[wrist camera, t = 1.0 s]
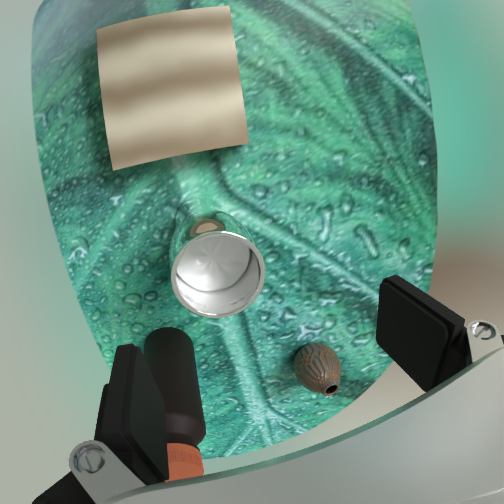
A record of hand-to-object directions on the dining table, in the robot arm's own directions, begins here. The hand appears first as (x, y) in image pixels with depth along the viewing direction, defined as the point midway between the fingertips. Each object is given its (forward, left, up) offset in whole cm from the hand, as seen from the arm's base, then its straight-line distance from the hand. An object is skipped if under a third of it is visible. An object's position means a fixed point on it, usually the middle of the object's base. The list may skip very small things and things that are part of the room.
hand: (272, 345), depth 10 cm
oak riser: (-14, -2, -25) cm, 29 cm away
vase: (+26, +11, -26) cm, 38 cm away
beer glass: (+2, -1, -25) cm, 26 cm away
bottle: (+18, -9, -25) cm, 32 cm away
